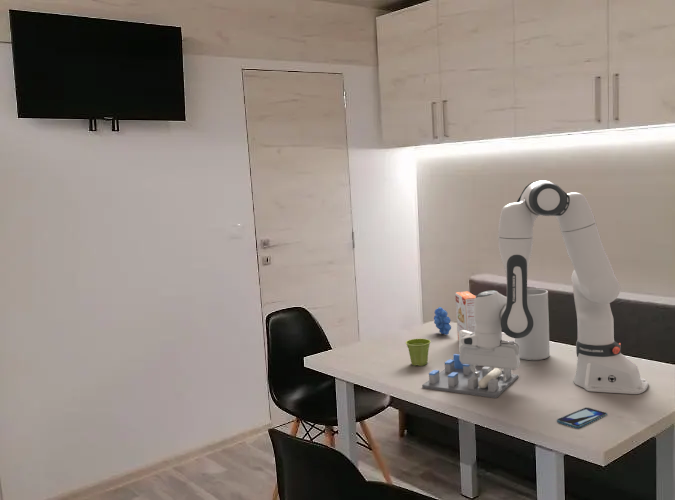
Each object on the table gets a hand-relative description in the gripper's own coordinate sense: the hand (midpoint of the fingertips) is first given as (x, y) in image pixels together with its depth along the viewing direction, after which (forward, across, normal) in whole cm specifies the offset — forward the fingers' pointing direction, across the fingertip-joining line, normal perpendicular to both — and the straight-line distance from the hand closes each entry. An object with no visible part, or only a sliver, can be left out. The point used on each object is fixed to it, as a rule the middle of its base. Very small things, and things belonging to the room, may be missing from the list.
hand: (489, 378), depth 225 cm
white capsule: (0, 0, 0) cm, 0 cm away
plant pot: (+2, +33, -13) cm, 36 cm away
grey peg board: (+2, +7, 0) cm, 7 cm away
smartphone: (+3, -34, +17) cm, 38 cm away
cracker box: (+2, +26, -45) cm, 52 cm away
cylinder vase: (+2, -3, -37) cm, 37 cm away
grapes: (+2, +43, -55) cm, 70 cm away
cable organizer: (+2, +13, -25) cm, 28 cm away
